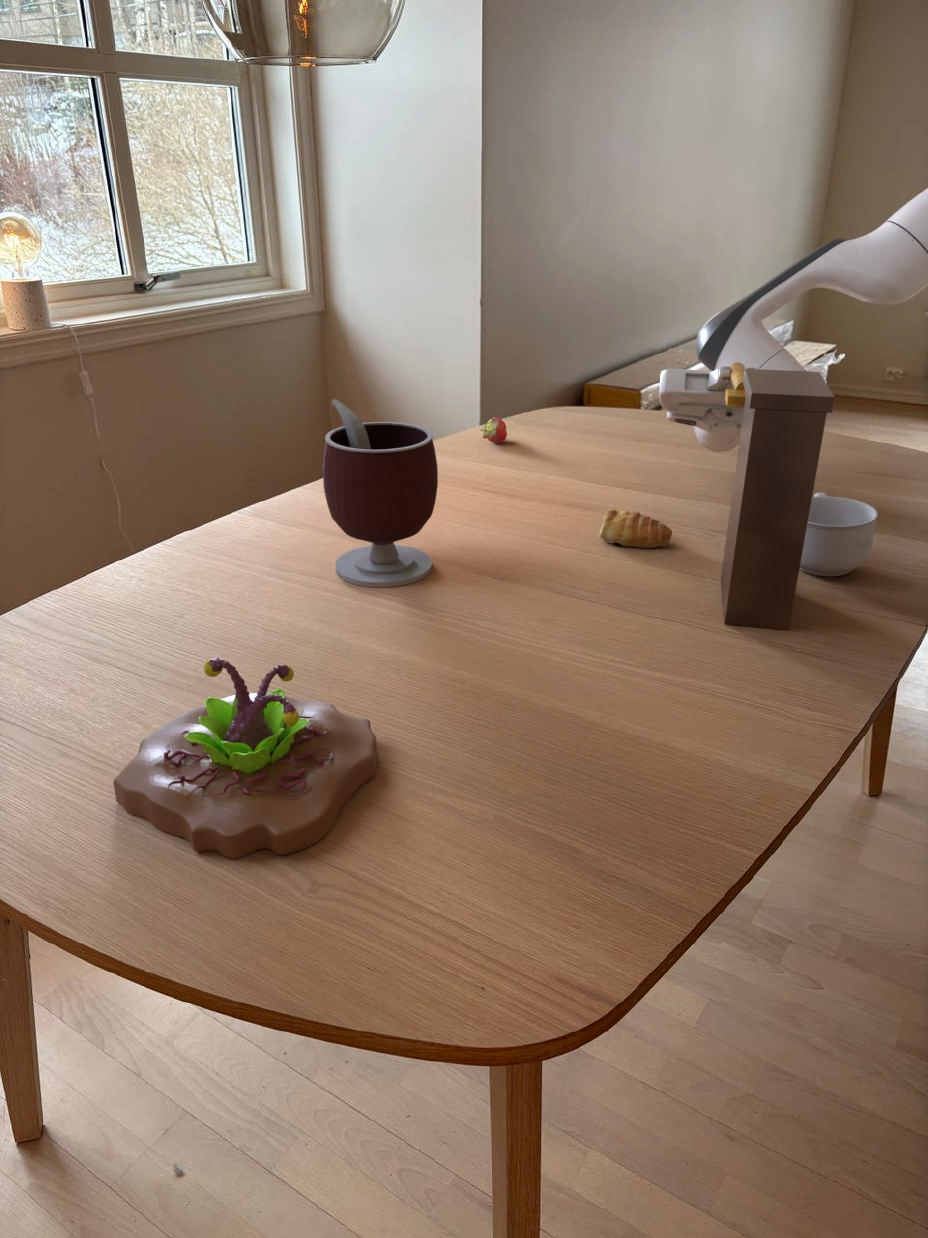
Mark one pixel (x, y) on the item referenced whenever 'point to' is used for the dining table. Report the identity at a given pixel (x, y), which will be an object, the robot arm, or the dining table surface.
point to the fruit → (495, 430)
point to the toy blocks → (736, 386)
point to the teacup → (837, 535)
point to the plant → (249, 769)
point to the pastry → (634, 530)
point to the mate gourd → (380, 496)
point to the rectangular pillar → (772, 494)
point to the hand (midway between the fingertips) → (739, 372)
